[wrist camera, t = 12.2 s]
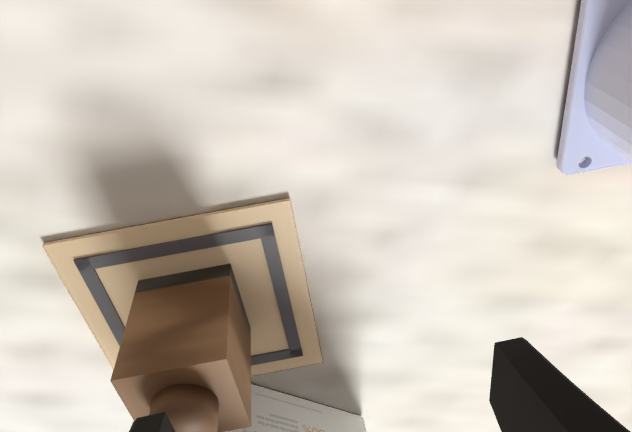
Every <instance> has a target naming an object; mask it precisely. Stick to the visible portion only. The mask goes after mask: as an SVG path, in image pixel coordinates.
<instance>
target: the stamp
mask: <svg viewBox="0 0 632 432" xmlns="http://www.w3.org/2000/svg"><path fill="white" fill-rule="evenodd" d="M111 382H112V384H113V386H114V388H115V389H116V391H117V393H118V394H119V396H120V398H121V399H122V401H123V403H124V404H125V406H126V408H127V409H128V411H129V413H130V415H131V416H132V418H133V420H134V421H135V420H136V418H139V417H144V416H148V415H153V414H158V413H163V412H166V414H167V416H168V418H169V420H170V422H171V424H172V426H173V428H174V430H175V432H225V431H231V430H236V429H241V428H246V427H251V328H250V324H249V321H248V318H247V315H246V311H245V308H244V305H243V302H242V299H241V295H240V292H239V289H238V286H237V282H236V279H235V276H234V273H233V270H232V266H231V263H230V264H225V265H219V266H214V267H208V268H203V269H198V270H192V271H187V272H181V273H176V274H170V275H165V276H160V277H154V278H149V279H143V280H138V283H137V287H136V290H135V294H134V298H133V301H132V305H131V309H130V312H129V316H128V319H127V323H126V327H125V330H124V334H123V338H122V341H121V345H120V348H119V352H118V356H117V359H116V363H115V366H114V370H113V374H112V377H111Z"/></svg>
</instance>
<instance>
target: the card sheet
mask: <svg viewBox="0 0 632 432" xmlns="http://www.w3.org/2000/svg"><path fill="white" fill-rule="evenodd" d="M42 247H43V248H44V250H45V252H46V254H47V255H48V257H49V259H50V261H51V262H52V264H53V266H54V267H55V269H56V271H57V273H58V274H59V276H60V278H61V280H62V281H63V283H64V285H65V287H66V288H67V290H68V292H69V294H70V295H71V297H72V299H73V300H74V302H75V304H76V306H77V307H78V309H79V311H80V313H81V314H82V316H83V318H84V320H85V321H86V323H87V325H88V327H89V328H90V330H91V332H92V333H93V335H94V337H95V339H96V340H97V342H98V344H99V346H100V347H101V349H102V351H103V353H104V354H105V356H106V358H107V359H108V361H109V363H110V365H111V366H112V368H113V370H114V366H115V363H116V359H117V356H118V352H119V348H120V345H121V341H122V338H123V334H124V330H125V327H126V323H127V319H128V316H129V312H130V309H131V305H132V301H133V298H134V294H135V290H136V287H137V283H138V280H143V279H149V278H154V277H160V276H165V275H170V274H176V273H181V272H187V271H192V270H198V269H203V268H208V267H214V266H219V265H225V264H230V263H231V266H232V270H233V273H234V276H235V279H236V282H237V286H238V289H239V292H240V295H241V299H242V302H243V305H244V308H245V311H246V315H247V318H248V321H249V324H250V328H251V376H255V375H260V374H265V373H271V372H276V371H281V370H287V369H292V368H297V367H302V366H308V365H313V364H318V363H323V360H322V355H321V350H320V345H319V340H318V336H317V331H316V326H315V321H314V316H313V311H312V306H311V301H310V296H309V291H308V286H307V281H306V276H305V271H304V266H303V262H302V257H301V252H300V247H299V242H298V237H297V232H296V227H295V222H294V217H293V212H292V207H291V202H290V198H287V199H281V200H276V201H270V202H265V203H259V204H254V205H248V206H243V207H237V208H232V209H226V210H221V211H215V212H210V213H204V214H199V215H194V216H188V217H183V218H177V219H172V220H166V221H161V222H155V223H150V224H144V225H139V226H133V227H128V228H122V229H117V230H111V231H106V232H100V233H95V234H90V235H84V236H79V237H73V238H68V239H62V240H57V241H51V242H46V243H43V245H42Z"/></svg>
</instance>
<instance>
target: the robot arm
mask: <svg viewBox="0 0 632 432" xmlns="http://www.w3.org/2000/svg"><path fill="white" fill-rule="evenodd" d="M584 157H586V158H585V160H584V161H583V162H582V163H580V164H579V162H580V160H581V159H583V158H584ZM627 164H632V0H581V6H580V13H579V19H578V26H577V33H576V39H575V46H574V52H573V59H572V65H571V72H570V78H569V85H568V92H567V98H566V105H565V111H564V118H563V124H562V131H561V138H560V144H559V151H558V157H557V168H558V169H559V170H560V171H561V172H562V173H563V174H565V175H573V174H578V173H584V172H589V171H595V170H600V169H605V168H611V167H616V166H622V165H627ZM489 401H490V404H491V406H492V409H493V411H494V414H495V416H496V419H497V421H498V424H499V426H500V429H501V431H502V432H630V431H629V430H628V429H626V428H625V427H624V426H623V425H621V424H620V423H619V422H618V421H617V420H615V419H614V418H613V417H612V416H611V415H610V414H608V413H607V412H606V411H605V410H604V409H602V408H601V407H600V406H599V405H598V404H596V403H595V402H594V401H593V400H592V399H591V398H589V397H588V396H587V395H586V394H585V393H584V392H583V391H581V390H580V389H579V388H578V387H577V386H576V385H575V384H574V383H572V382H571V381H570V380H569V379H568V378H567V377H566V376H565V375H563V374H562V373H561V372H560V371H559V370H558V369H557V368H556V367H555V366H554V365H552V364H551V363H550V362H549V361H548V360H547V359H546V358H545V357H544V356H543V355H542V354H541V353H540V352H538V351H537V350H536V349H535V348H534V347H533V346H532V345H531V344H530V343H529V342H528V341H527V340H525V339H524V338H522V337H521V338H516V339H511V340H506V341H502V342H497V343H495V345H494V356H493V367H492V378H491V389H490V400H489ZM129 432H175V430H174V428H173V426H172V424H171V422H170V420H169V418H168V416H167V414H166V412H163V413H158V414H153V415H148V416H144V417H139V418H136V420H135V421H134V422H133V424H132V426H131V429H130V431H129Z"/></svg>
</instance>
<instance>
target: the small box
mask: <svg viewBox="0 0 632 432" xmlns="http://www.w3.org/2000/svg"><path fill="white" fill-rule="evenodd" d="M225 432H366V428H365V424H364V419H363V417H361V416H359V415H355V414H352V413H348V412H345V411H342V410H338V409H335V408H332V407H328V406H325V405H322V404H318V403H315V402H311V401H308V400H305V399H301V398H298V397H295V396H291V395H288V394H285V393H281V392H278V391H274V390H271V389H267V388H264V387H260V386H257V385H254V384H251V427H246V428H241V429H236V430H231V431H225Z"/></svg>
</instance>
